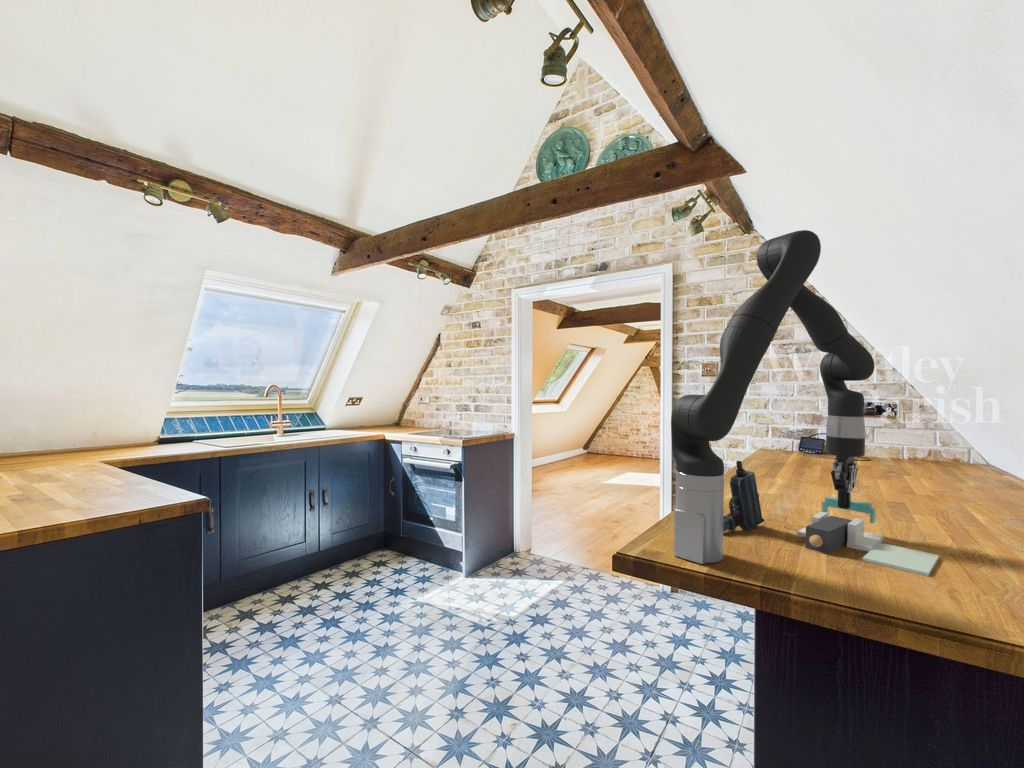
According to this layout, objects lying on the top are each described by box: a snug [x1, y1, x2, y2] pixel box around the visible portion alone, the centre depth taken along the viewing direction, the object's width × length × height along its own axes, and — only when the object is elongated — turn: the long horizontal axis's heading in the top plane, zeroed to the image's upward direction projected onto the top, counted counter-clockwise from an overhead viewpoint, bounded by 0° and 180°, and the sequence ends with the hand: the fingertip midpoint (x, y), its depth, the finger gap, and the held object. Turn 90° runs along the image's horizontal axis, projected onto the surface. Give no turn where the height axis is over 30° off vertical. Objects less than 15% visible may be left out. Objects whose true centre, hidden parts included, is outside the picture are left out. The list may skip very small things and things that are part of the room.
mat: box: [862, 542, 940, 577], centre depth 95 cm, size 14×10×1 cm
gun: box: [723, 460, 765, 533], centre depth 113 cm, size 3×17×15 cm
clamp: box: [796, 511, 884, 553], centre depth 108 cm, size 12×14×5 cm
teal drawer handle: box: [821, 495, 877, 524], centre depth 112 cm, size 2×10×4 cm, turn 41°
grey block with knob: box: [805, 515, 853, 555], centre depth 103 cm, size 16×4×5 cm, turn 126°
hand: (844, 507), depth 110 cm, fingers closed
